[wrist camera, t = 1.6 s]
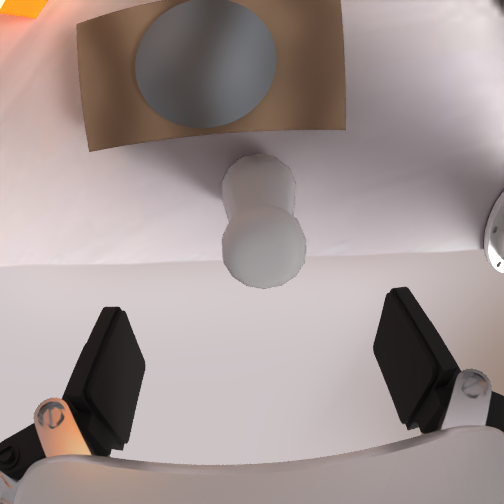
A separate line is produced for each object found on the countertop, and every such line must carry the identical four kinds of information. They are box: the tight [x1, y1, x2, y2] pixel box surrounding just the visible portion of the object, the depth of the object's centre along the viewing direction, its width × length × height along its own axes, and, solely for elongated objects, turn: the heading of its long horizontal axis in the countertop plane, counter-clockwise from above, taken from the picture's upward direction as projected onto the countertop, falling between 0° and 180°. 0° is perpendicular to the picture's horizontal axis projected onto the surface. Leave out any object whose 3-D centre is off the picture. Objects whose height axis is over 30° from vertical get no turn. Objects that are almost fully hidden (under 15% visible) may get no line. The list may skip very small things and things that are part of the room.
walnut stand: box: [77, 0, 346, 152], centre depth 19 cm, size 18×10×6 cm, turn 93°
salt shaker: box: [222, 153, 306, 289], centre depth 21 cm, size 6×6×13 cm
